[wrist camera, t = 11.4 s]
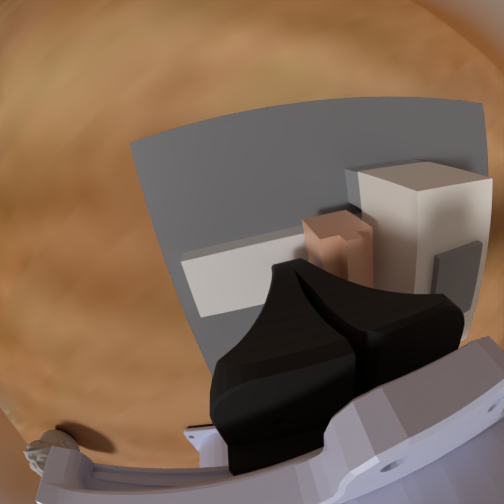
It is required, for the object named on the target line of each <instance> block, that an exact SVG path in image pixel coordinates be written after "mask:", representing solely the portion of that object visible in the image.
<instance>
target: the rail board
mask: <svg viewBox="0 0 504 504" xmlns="http://www.w3.org/2000/svg"><path fill="white" fill-rule="evenodd" d="M130 146H131V150H132V154H133V158H134V162H135V166H136V169H137V173H138V177H139V180H140V184H141V187H142V191H143V194H144V198H145V201H146V204H147V208H148V211H149V214H150V217H151V221H152V224H153V227H154V230H155V233H156V236H157V239H158V242H159V245H160V248H161V251H162V254H163V257H164V259H165V262H166V265H167V268H168V271H169V273H170V276H171V279H172V281H173V284H174V287H175V289H176V292H177V295H178V297H179V300H180V302H181V305H182V307H183V310H184V312H185V315H186V317H187V320H188V322H189V325H190V327H191V329H192V332H193V334H194V336H195V339H196V341H197V343H198V346H199V348H200V350H201V353H202V355H203V357H204V359H205V361H206V364H207V366H208V368H209V370H210V372H211V374H212V377H213V374H214V370H215V366H216V363H217V361H218V360H219V359H220V358H222V357H223V356H224V355H225V354H226V353H228V352H229V351H230V350H231V349H232V348H233V347H235V346H236V345H237V344H238V343H239V342H240V341H241V339H242V338H243V337H244V336H245V335H246V334H247V332H248V331H249V330H250V328H251V327H252V325H253V324H254V322H255V321H256V319H257V317H258V316H259V314H260V312H261V310H262V308H263V306H264V303H265V301H266V298H267V295H268V292H269V289H270V284H271V279H272V270H271V267H272V266H273V264H277V263H281V262H286V261H290V260H294V259H298V258H302V259H304V260H306V261H308V259H307V252H306V245H305V238H304V231H303V225H302V219H305V218H310V217H315V216H319V215H324V214H329V213H333V212H338V211H343V210H347V211H349V212H350V213H352V214H353V215H355V216H356V217H358V218H359V219H361V220H362V209H360V208H358V207H357V206H355V205H353V204H351V203H350V202H348V193H347V185H346V177H345V170H344V169H345V168H351V167H358V166H364V165H371V164H378V163H385V162H392V161H400V160H408V159H414V160H419V161H424V162H433V163H437V164H442V165H446V166H450V167H454V168H458V169H462V170H466V171H469V172H473V173H476V174H480V175H483V176H487V177H488V154H487V138H486V127H485V119H484V111H483V104H482V103H475V102H468V101H459V100H449V99H437V98H420V97H360V98H342V99H329V100H318V101H309V102H300V103H292V104H285V105H278V106H272V107H266V108H260V109H255V110H249V111H244V112H239V113H234V114H230V115H225V116H221V117H216V118H212V119H208V120H204V121H200V122H196V123H192V124H189V125H185V126H181V127H178V128H174V129H171V130H168V131H164V132H161V133H158V134H155V135H152V136H149V137H146V138H143V139H140V140H137V141H134V142H131V143H130Z"/></svg>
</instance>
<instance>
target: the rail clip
mask: <svg viewBox="0 0 504 504" xmlns="http://www.w3.org/2000/svg"><path fill="white" fill-rule="evenodd" d="M302 225H303V231H304V238H305V245H306V252H307V259H308V262H310V263H312V264H313V265H315V266H317V267H319V268H321V269H323V270H325V271H327V272H329V273H331V274H333V275H335V276H338V277H340V278H343V279H345V280H347V281H350V282H353V283H356V284H360V285H363V286H366V287H370V288H373V233H372V227H371V226H370V225H368V224H367V223H365V222H364V221H362V220H361V219H359V218H358V217H356V216H355V215H353V214H352V213H350V212H349V211H347V210H343V211H338V212H333V213H329V214H324V215H319V216H315V217H310V218H305V219H302Z"/></svg>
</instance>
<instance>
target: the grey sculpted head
mask: <svg viewBox="0 0 504 504" xmlns="http://www.w3.org/2000/svg"><path fill="white" fill-rule="evenodd" d="M51 446H57V447H62V448H68V449H73V450H77V451H79V452H80V450H79V447H78V445H77V443H76V442H75V440H74V439H73V438H72V437H71V436H70V435H68V434H67V433H65V432H63V431H60V430H49V431H47V432H45V433H44V434H43V435H42V436H41V438H40V440H35V441H33V442H31V443H30V444H28V445H27V449H28V450H26V451H23V452H24V453H25V456H26V458H27V460H29V461H30V467H31V469H32V470H33V471H35V472H37V473H38V474H39V475H40V476H41V477H42V474H43V471H44V468H45V465H46V461H47V458H48V455H49V452H50V449H51Z"/></svg>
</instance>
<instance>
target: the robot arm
mask: <svg viewBox="0 0 504 504" xmlns="http://www.w3.org/2000/svg"><path fill="white" fill-rule="evenodd" d="M271 270H272V279H271V284H270V289H269V292H268V295H267V298H266V301H265V303H264V306H263V308H262V310H261V312H260V314H259V316H258V317H257V319H256V321H255V322H254V324H253V325H252V327H251V328H250V330H249V331H248V332H247V334H246V335H245V336H244V337H243V338H242V339H241V341H240V342H239V343H238V344H237V345H236V346H235V347H233V348H232V349H231V350H230V351H229V352H228V353H226V354H225V355H224V356H223V357H222V358H220V359H219V360H218V361H217V363H216V366H215V370H214V374H213V378H212V383H211V389H210V417H211V420H212V423H213V425H214V426H207V427H198V428H187V429H185V430H184V435H185V436H186V437H187V439H188V440H189V441H190V442H191V443H192V445H193V446H194V447H195V448H196V449H197V450H198V452H199V453H200V468H178V469H163V468H137V467H124V466H114V465H105V464H98V463H93V461H92V460H91V459H90V458H88V457H87V456H86V455H84V454H83V453H81V452H79V451H77V450H73V449H68V448H62V447H57V446H51V449H50V452H49V455H48V458H47V461H46V465H45V468H44V471H43V474H42V478H41V481H40V485H39V489H38V492H37V496H36V500H35V501H36V502H37V504H504V351H503V350H502V349H501V348H500V347H499V346H498V345H497V344H496V343H495V342H494V341H493V340H492V339H491V338H490V337H489V336H487V337H483V338H480V339H477V340H474V341H471V342H469V343H468V344H466V345H464V346H463V347H461V348H459V349H458V347H459V344H460V341H461V338H462V335H463V330H464V325H465V320H464V314H463V312H462V310H461V309H460V308H459V307H458V306H457V305H456V304H454V303H453V302H452V301H451V300H450V299H449V298H448V297H447V296H445V295H444V294H409V293H398V292H390V291H385V290H379V289H374V288H370V287H366V286H363V285H360V284H356V283H353V282H350V281H347V280H345V279H343V278H340V277H338V276H335V275H333V274H331V273H329V272H327V271H325V270H323V269H321V268H319V267H317V266H315V265H313V264H312V263H310V262H308V261H306V260H304V259H302V258H298V259H294V260H290V261H286V262H281V263H277V264H273V266H272V267H271Z"/></svg>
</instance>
